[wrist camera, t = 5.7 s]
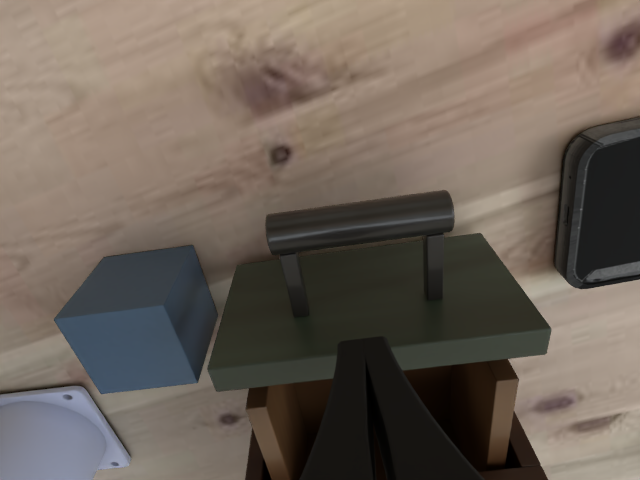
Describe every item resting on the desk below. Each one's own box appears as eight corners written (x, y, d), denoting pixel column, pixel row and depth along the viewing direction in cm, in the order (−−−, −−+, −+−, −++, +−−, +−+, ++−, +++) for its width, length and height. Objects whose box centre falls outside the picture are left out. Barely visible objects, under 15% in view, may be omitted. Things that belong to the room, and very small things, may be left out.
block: (138, 325, 22) (100, 394, 18) (103, 256, 20) (52, 319, 16) (218, 315, 22) (198, 383, 18) (193, 244, 19) (163, 305, 16)
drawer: (211, 182, 17) (163, 267, 11) (487, 142, 16) (576, 213, 11) (285, 427, 25) (278, 543, 20) (468, 407, 25) (513, 522, 19)
